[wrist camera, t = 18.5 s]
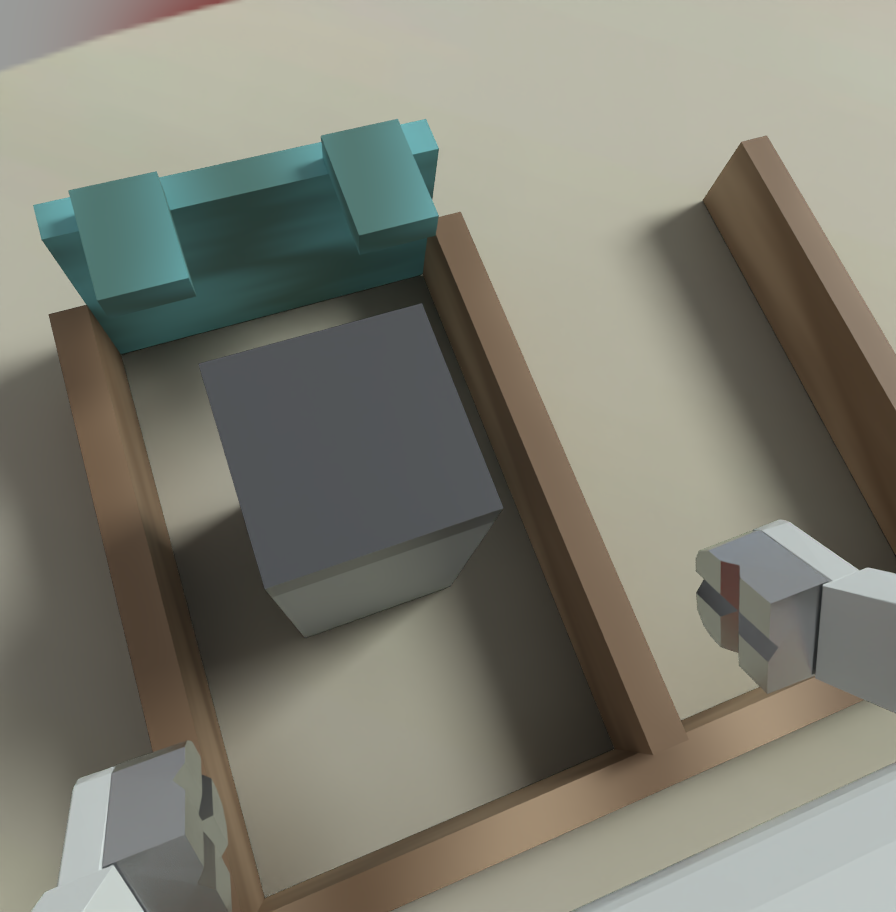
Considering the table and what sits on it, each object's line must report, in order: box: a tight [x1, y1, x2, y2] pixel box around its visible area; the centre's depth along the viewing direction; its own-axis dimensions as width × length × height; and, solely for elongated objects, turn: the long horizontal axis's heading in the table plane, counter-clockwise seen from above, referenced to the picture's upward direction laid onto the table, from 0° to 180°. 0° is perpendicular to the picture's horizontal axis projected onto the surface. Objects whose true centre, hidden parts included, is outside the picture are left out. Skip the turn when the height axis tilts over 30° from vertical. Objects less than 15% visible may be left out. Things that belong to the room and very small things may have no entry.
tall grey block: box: [199, 303, 503, 638], centre depth 18 cm, size 4×4×9 cm
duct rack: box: [33, 119, 896, 912], centre depth 20 cm, size 23×18×7 cm
